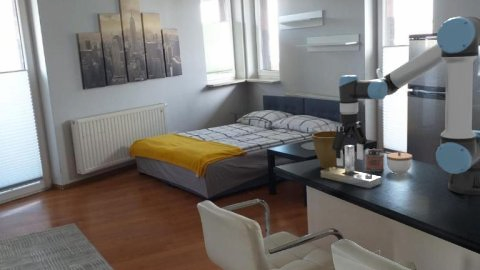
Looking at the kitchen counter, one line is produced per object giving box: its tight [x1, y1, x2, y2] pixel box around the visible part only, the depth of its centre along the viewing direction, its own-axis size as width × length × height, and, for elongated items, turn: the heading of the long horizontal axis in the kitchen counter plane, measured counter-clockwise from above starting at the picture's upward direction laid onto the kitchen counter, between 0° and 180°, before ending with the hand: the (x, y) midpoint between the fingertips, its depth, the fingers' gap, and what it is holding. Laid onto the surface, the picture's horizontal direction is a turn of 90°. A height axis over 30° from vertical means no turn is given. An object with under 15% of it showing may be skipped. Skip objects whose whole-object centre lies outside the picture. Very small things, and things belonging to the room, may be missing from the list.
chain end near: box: [338, 172, 382, 189], centre depth 202 cm, size 16×8×4 cm, turn 39°
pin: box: [344, 144, 356, 176], centre depth 205 cm, size 4×4×15 cm
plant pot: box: [311, 130, 344, 169], centre depth 228 cm, size 15×15×16 cm
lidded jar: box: [386, 151, 413, 175], centre depth 213 cm, size 11×11×9 cm
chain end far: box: [320, 166, 362, 182], centre depth 210 cm, size 16×8×4 cm, turn 39°
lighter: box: [365, 148, 385, 172], centre depth 218 cm, size 8×3×10 cm, turn 62°
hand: (350, 162), depth 205 cm, fingers open, 13 cm apart
